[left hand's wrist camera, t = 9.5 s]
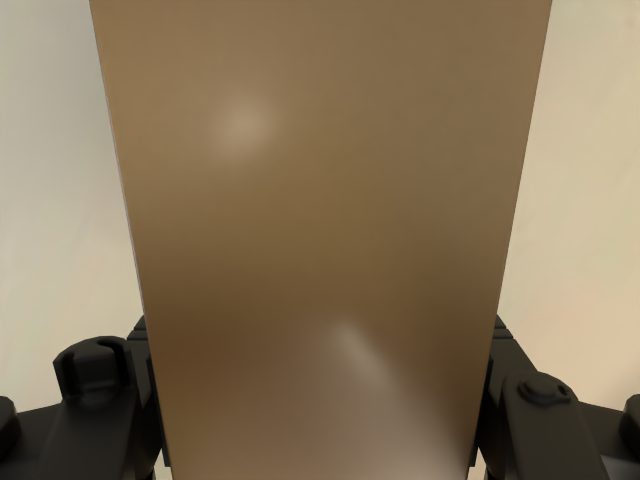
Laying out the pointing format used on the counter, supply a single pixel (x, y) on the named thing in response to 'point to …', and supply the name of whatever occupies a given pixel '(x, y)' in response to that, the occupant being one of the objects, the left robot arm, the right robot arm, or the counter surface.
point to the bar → (320, 222)
